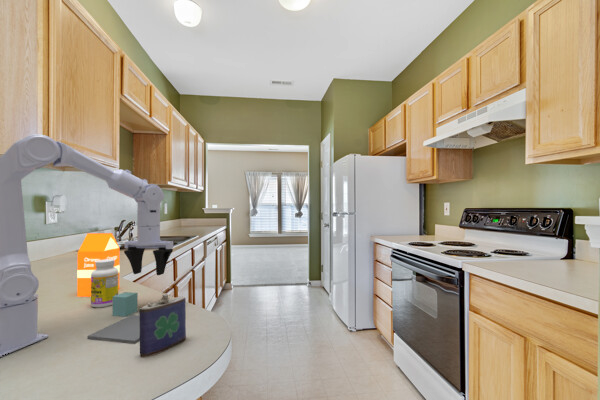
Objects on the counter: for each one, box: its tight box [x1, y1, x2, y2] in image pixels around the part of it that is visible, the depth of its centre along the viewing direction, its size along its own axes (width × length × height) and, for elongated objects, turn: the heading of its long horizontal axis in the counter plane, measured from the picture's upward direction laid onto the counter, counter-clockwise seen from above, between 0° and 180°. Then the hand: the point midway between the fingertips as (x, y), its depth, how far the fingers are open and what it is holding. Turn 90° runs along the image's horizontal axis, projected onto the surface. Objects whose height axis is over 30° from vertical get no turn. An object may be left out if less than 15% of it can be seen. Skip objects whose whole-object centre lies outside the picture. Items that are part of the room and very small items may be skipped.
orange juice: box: [76, 232, 121, 298], centre depth 93 cm, size 8×9×20 cm
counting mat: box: [87, 314, 140, 345], centre depth 65 cm, size 12×12×1 cm
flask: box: [138, 292, 187, 358], centre depth 56 cm, size 9×3×11 cm, turn 144°
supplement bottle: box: [90, 259, 119, 308], centre depth 82 cm, size 7×7×13 cm
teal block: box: [112, 291, 138, 318], centre depth 75 cm, size 4×4×5 cm
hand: (148, 273), depth 79 cm, fingers open, 7 cm apart
